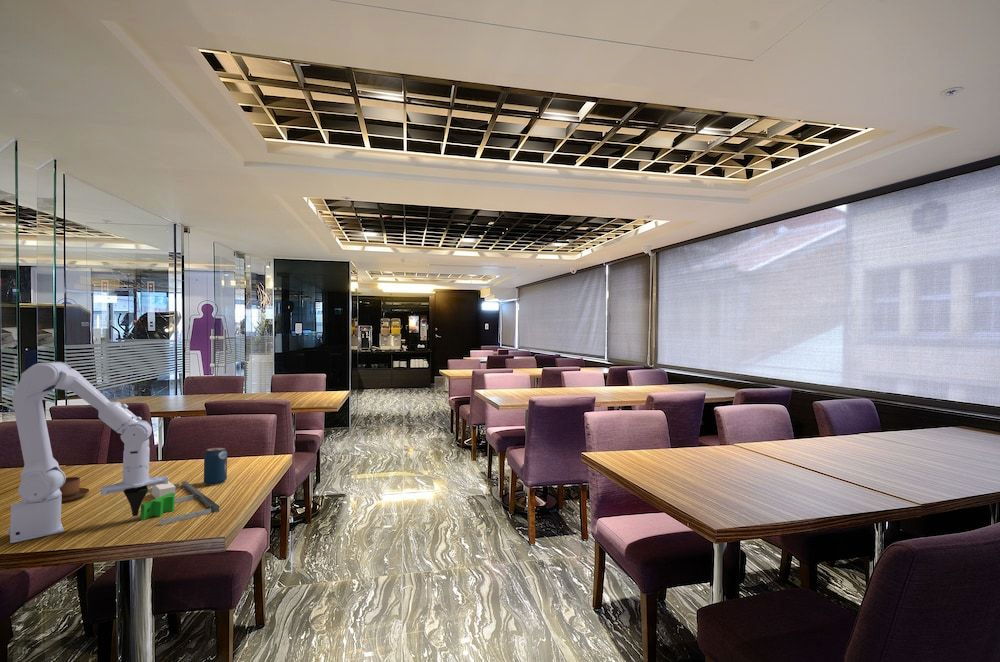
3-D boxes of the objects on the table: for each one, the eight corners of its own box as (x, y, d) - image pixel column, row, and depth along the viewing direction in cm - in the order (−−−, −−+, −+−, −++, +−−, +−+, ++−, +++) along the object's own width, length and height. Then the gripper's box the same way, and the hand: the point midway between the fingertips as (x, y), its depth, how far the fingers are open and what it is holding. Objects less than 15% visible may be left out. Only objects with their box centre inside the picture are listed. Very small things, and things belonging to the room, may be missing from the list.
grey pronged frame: (160, 525, 123) (160, 519, 123) (134, 495, 148) (134, 490, 148) (219, 511, 133) (219, 506, 133) (185, 485, 158) (185, 481, 158)
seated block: (159, 502, 140) (160, 489, 141) (151, 494, 148) (152, 482, 148) (175, 499, 143) (175, 486, 144) (166, 491, 151) (167, 479, 151)
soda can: (230, 482, 162) (231, 448, 162) (209, 487, 156) (210, 451, 156) (220, 479, 166) (221, 445, 166) (199, 483, 160) (200, 449, 160)
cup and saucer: (36, 500, 144) (37, 480, 144) (87, 491, 152) (88, 472, 152) (36, 509, 135) (36, 488, 135) (90, 499, 144) (90, 480, 144)
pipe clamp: (151, 520, 126) (152, 505, 126) (140, 520, 127) (140, 504, 127) (181, 507, 137) (182, 492, 137) (171, 506, 137) (171, 492, 137)
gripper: (104, 473, 119) (102, 526, 118) (171, 463, 129) (170, 511, 129) (100, 468, 123) (98, 519, 123) (165, 459, 134) (164, 505, 134)
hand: (135, 515), depth 126 cm, fingers closed
